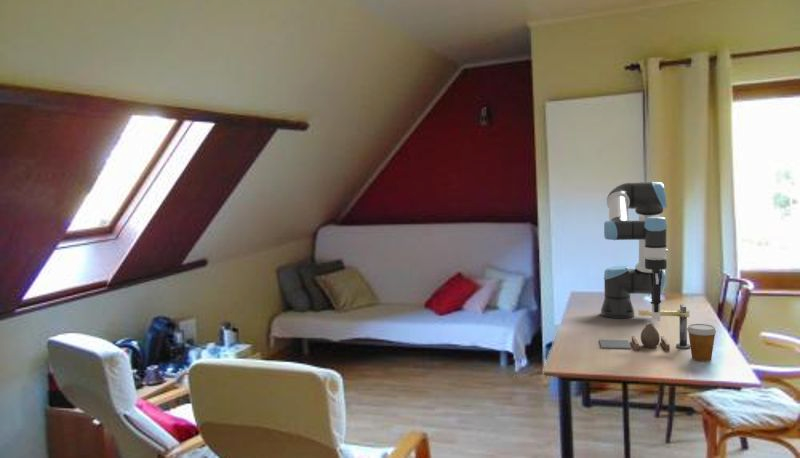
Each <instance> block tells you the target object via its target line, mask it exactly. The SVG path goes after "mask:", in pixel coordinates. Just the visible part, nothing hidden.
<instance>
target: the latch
mask: <svg viewBox="0 0 800 458" xmlns="http://www.w3.org/2000/svg"><path fill="white" fill-rule="evenodd" d="M638 315H639V316H641V317H642V316H643V317H644V316H645V317H646V316H647V317H648V316H651V317H652V309H651V310H650V309H648V310H647V309H642V310H641V309H639V310H638ZM660 317H679V318H680V317H687V318H689V317H690V310H689V309H687V306H686V305H685V304H683V303H682V304H681V303H680V304H679V309H676V310H664V309H663V310H661V309H660Z"/></svg>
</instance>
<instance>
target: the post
mask: <svg viewBox="0 0 800 458" xmlns="http://www.w3.org/2000/svg"><path fill="white" fill-rule="evenodd" d="M687 328H688V317H679V343H676V344H675V348H677V349H681V350H689V349H691V347H690V343H689V344H688V330H687Z"/></svg>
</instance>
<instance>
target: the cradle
mask: <svg viewBox="0 0 800 458" xmlns="http://www.w3.org/2000/svg"><path fill="white" fill-rule="evenodd" d="M631 343H632V345H633V347H634V349H635V351H640V344H639V342H638V340H637V338H636V337H635V335H632V336H631ZM660 343H661V345H662V346H663V348H664V349H665V351H666V352H670V351H671V347H670V343H669V342H668V341H667V339H666V338H665V336H660Z"/></svg>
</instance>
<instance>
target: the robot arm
mask: <svg viewBox="0 0 800 458" xmlns="http://www.w3.org/2000/svg"><path fill="white" fill-rule="evenodd" d="M608 193H609V194H608V195H607V197H606V205H607V207H608V220H606V221H604V223H603V224H604V225H603V227H604V228H603V233H604V235H603V237H604V239H605V240H608V241H609V240H613V241H620V240H621V241H623V240H624V241H627V240H628V241H633V240H635V241H637V240H638V263H637V264H635V266H634V268H631V266H629V265H616V266H610V267H608V268H606V269H605V270H604V273H603V274H604V275H603V276H604V277H603V279H604V282H603V283H604V299H603V302H602V305H601V309H600V316H602V317H604V318H605V317H606V318H612V319H629V318H633V317H635V309H634V306H633V303H632V300H631V295H637V294H638V295H651V297H650V300H651V301H650V304H651V310H652V316H651V320H652V321H655V322H656V321H657V322H658V321H659V322H660V321H661V316H660V310H661V303H662V300H661V294H662V293H663V292H664V289H665V284H666V275H667V274H666V269H667V267H668V266H667V264H668V263H667V261H668V260H667V259H666V258H667V253H669V249H667V228H668V225H667V219H666V217H664V216H661V215H662V214H663V213H664V209H667V208H668V202H667V195H666V189H665V184H664V183H663V182H661V181H659V182H658V181H656V182H655V181H644V182H643V181H642V182H624V183H623V184H622V183H621V184H619V185H617V186H616V187H614V188H613V189H612V190H611V191H610V192H608ZM629 209H631V210H632V209H635V211H634V212H635V213H636V215H638V220H629Z"/></svg>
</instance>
